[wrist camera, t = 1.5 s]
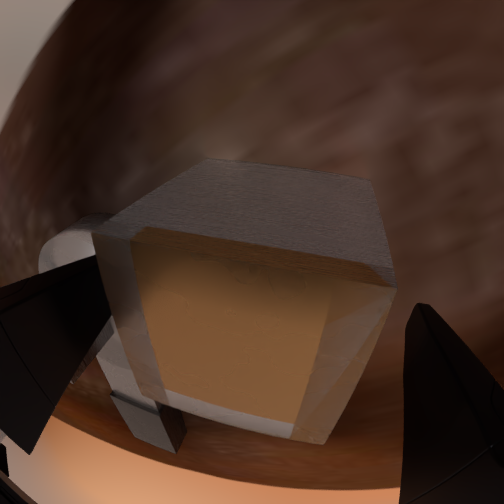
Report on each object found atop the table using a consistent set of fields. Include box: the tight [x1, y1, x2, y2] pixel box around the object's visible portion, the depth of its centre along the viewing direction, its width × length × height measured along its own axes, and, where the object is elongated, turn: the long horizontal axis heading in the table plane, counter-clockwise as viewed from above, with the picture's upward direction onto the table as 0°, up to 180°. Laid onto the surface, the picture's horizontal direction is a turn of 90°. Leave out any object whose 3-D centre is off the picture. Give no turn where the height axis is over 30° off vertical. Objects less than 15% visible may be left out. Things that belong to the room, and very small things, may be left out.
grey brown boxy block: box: [91, 159, 398, 445], centre depth 9 cm, size 6×6×6 cm
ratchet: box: [39, 213, 187, 454], centre depth 16 cm, size 20×8×6 cm, turn 178°
